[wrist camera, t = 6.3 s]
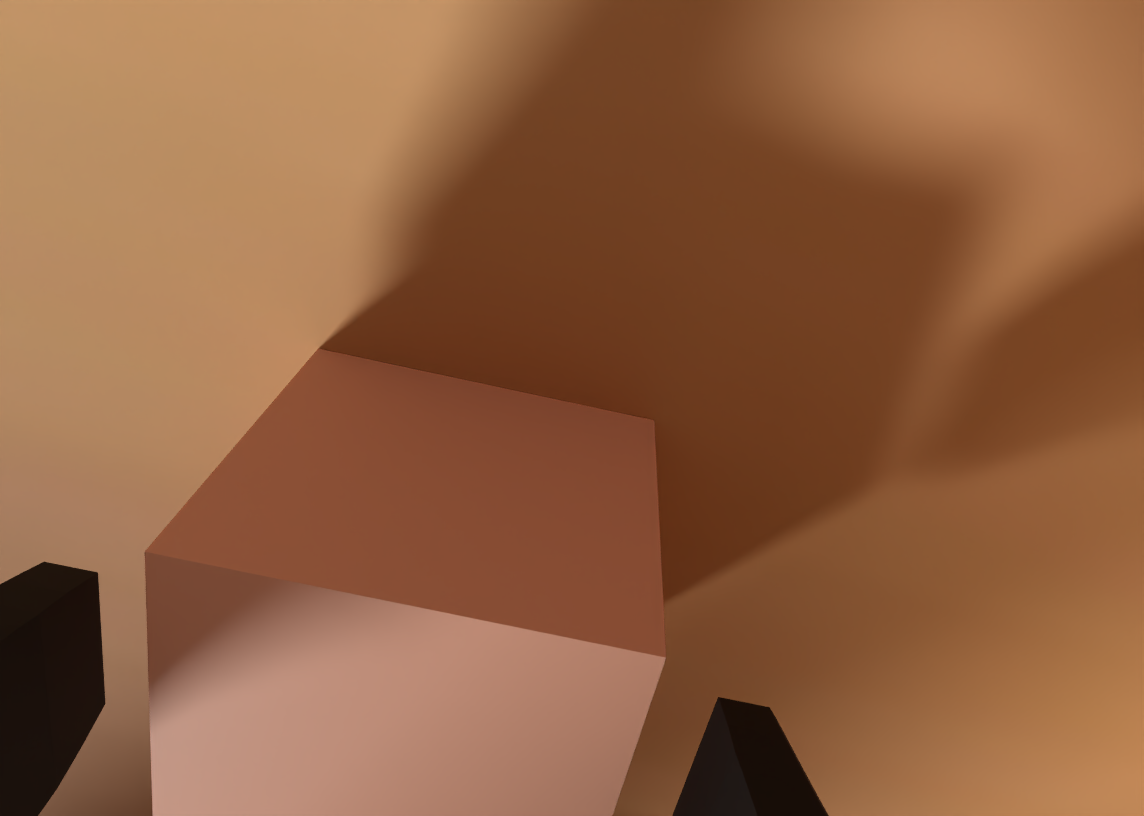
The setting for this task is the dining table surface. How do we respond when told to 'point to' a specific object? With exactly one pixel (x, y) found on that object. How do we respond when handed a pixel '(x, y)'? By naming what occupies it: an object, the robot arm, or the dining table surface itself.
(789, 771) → the robot arm
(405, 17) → the dining table surface
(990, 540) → the dining table surface
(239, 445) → the stub
